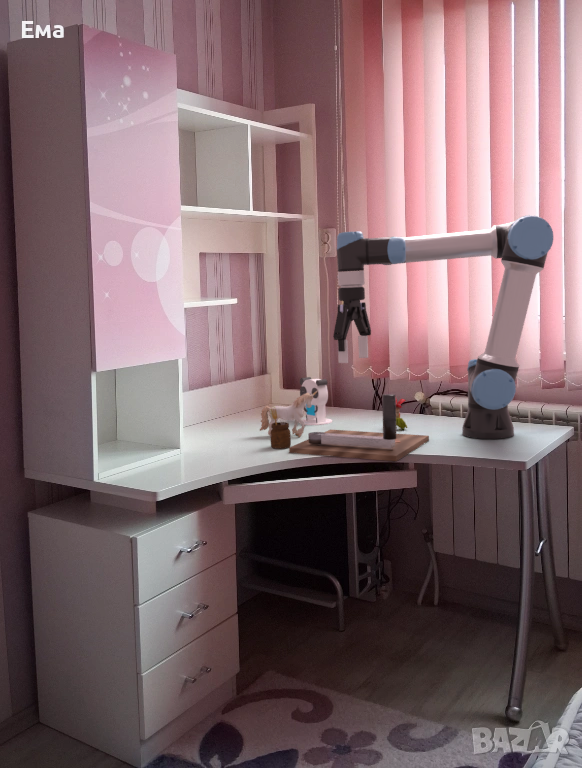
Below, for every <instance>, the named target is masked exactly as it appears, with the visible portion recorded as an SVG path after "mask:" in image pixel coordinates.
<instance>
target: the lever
mask: <svg viewBox="0 0 582 768" xmlns="http://www.w3.org/2000/svg"><path fill="white" fill-rule="evenodd" d="M381 397H382V401H381V402H382V433H383V437H379V436H363V435H348V434H333V433H324V432H325V431H324V432H323V431H313V432H309V433H308V439H309V443H310V444H333V445H346V446H360V447H374V448H388V449H392V448H394V447H395V439H396V434H397V426H396V398H397V395H396V394H394V393H384V394H383V393H382V395H381Z"/></svg>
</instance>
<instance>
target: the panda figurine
mask: <svg viewBox="0 0 582 768" xmlns="http://www.w3.org/2000/svg"><path fill="white" fill-rule="evenodd" d="M299 385H300V388H299V389H300V390H299V397H300V396H301V395H303V394H306V393H309V394H310V395H312V394H313V393H315V392H316V391H318V392H317V393H316V394H315V395H314V396H313V399H312V401H311V405H312V406H311V407H310V408H308V407H307V404H305V407H304V413H305V418H304V419H302V420H303V422H304V423H305V426H322V425H323V426H324V425H328V424H333V419H330V418H327V416H326V415H327V413H326V404H327V403H328V400H329V390H328V386H327V385H329V384H328V380H327V378H326V379H325V378H323V379H321V378H312V377H311V376H306V377H300V379H299Z"/></svg>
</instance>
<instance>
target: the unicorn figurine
mask: <svg viewBox="0 0 582 768" xmlns="http://www.w3.org/2000/svg"><path fill="white" fill-rule="evenodd" d="M317 392H318V391H316V392H315V393H313V394H312V395H310V394H309V393H306V394H303V395H301V396H300V395H299V396H298V397H297V398H296V399H295V400H294V401H292V404H291V405H288V406H285V405H284V406H282V405H274V406H271V407H270V406H268V405H266V406H265V407H263V409H262V410H261V413H260V415H261V419H260V422H261V426H260V428H259V431H265V430H267V429H268V432H267V435H268V436H269V437H270V433H271V430H272V428H271V425H272V423H275V419H273V417H272V411H271V408H272V410H273V408H274V411H275V409H276V413H277V419H276V421H277V422H278V420H282V417H283V421H294V424H293V427H292V429H291V432H292V435H295V436H298V438H300V437H301V436H302V435H303V434H304V430H305V427H306V425H305V423H304V422H303V419H302V418H303V417H304V413H305V411H304V407H305V404H307V407H308V408H310V407H311V406H312V405H311V401H312V399H313V396H314V395H315V394H316V393H317ZM283 409H284V410H285V414H284V410H283ZM286 410H287V411H286ZM280 412H281V413H282V415H281V413H280ZM273 415H274V412H273ZM275 415H276V414H275ZM285 416H286V418H287V419H286V418H285ZM269 418H270V419H269ZM298 424H299V425H301V427H299V428H298ZM297 428H298V429H297Z"/></svg>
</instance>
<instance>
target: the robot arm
mask: <svg viewBox="0 0 582 768" xmlns="http://www.w3.org/2000/svg"><path fill="white" fill-rule="evenodd" d="M553 243H554V230H553V228H552V227H551V225H550V223H549V222H548V221H547V220H546V219H544V218H543V217H540V216H538V215H530V214H528V215H523V216H520V217H519V218H517V219H515V220H514V221H511V222H508V223H503V224H496V225H492V226H491V228H490V229H489V228H488V229H480V230H471V231H459V232H449V233H439V234H438V233H437V234H427V235H418V236H407V237H404V236H386V237H385V236H384V237H382V236H381V237H371V238H368V237H367V238H366V237H364V234H363V232H362V231H343V232H339V233H338V234H337V236H336V260H337V262H336V263H337V276H336V278H337V282H338V286H339V288H338V290H337V292H338V293H337V294H338V300H339V301H340V302H343V304H337V313H336V319H335V323H334V324H335V325H334V329H333V331H334V332H333V340H334V341H337V352H338V353H337V355H338V358H337V359H338V360H337V361H338V364H349V348H348V347H349V344H348V343H349V342H348V339H347V337H348V333H349V330H350V327H351V323H352V322H354V325H355V326H356V329H357V331H358V333H359V335H358V337H357V340H358V342H357V343H358V359H368V358H369V344H368V343H369V341H368V340H369V338H368V336H371V335H372V330H371V329H372V328H371V324H370V320H369V317H368V312H367V305H366V302H362V301H364V300H365V298H366V295H365V294H366V293H365V287H364V285H365V268H364V267H365V266H369V265H370V266H371V265H373V266H374V265H384V266H392V265H398V264H399V265H401V264H406V263H407V264H408V263H410V264H411V263H418V262H420V263H421V262H430V261H431V262H432V261H433V262H434V261H442V260H454V259H465V258H476V257H477V258H478V257H488V256H489V257H490V256H491V257H492V258H494V259H497V260H498V259H500V262H501V264H502V266H503V267H504V270H503V274H502V279H501V283H500V286H499V287H500V288H499V292H498V294H497V300H496V304H495V308H494V313H493V316H492V320H491V325H490V329H489V333H488V336H487V340H486V346H485V348H484V349H485V350H484V352H483V353H482V354H480V355H479V356H477V359H476V358H474V359H470V360H469V361H468V362H467V363H468V364H467V368H466V369H467V401H468V402H467V404H468V405H467V412H466V414H465V418H464V420H463V424H462V429H461V430H462V431H461V432H462V433H461V434H462V435H463V436H464V437H468V438H473V439H482V440H499V439H507V438H511V437H513V436H514V435H515V434H514V433H515V428H514V425H513V422H512V418H511V415H510V412H509V408H508V407H509V404H510V403H511V402H512V401H513V400H514V397H515V395H516V392H517V390H516V388H517V386H516V382H517V378H518V376H517V375H518V373H519V369H520V365H519V363H518V361H517V358H516V357H517V353H518V349H519V345H520V342H521V337H522V332H523V328H524V325H525V321H526V318H527V313H528V309H529V305H530V301H531V296H532V294H533V293H532V292H533V289H534V285H535V281H536V277H537V275H538V274H539V273H540V272H542V271H543V270H544V267H545V264H546V261H547V257H548V253H549V251H550V250H551V249H552V246H553Z"/></svg>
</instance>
